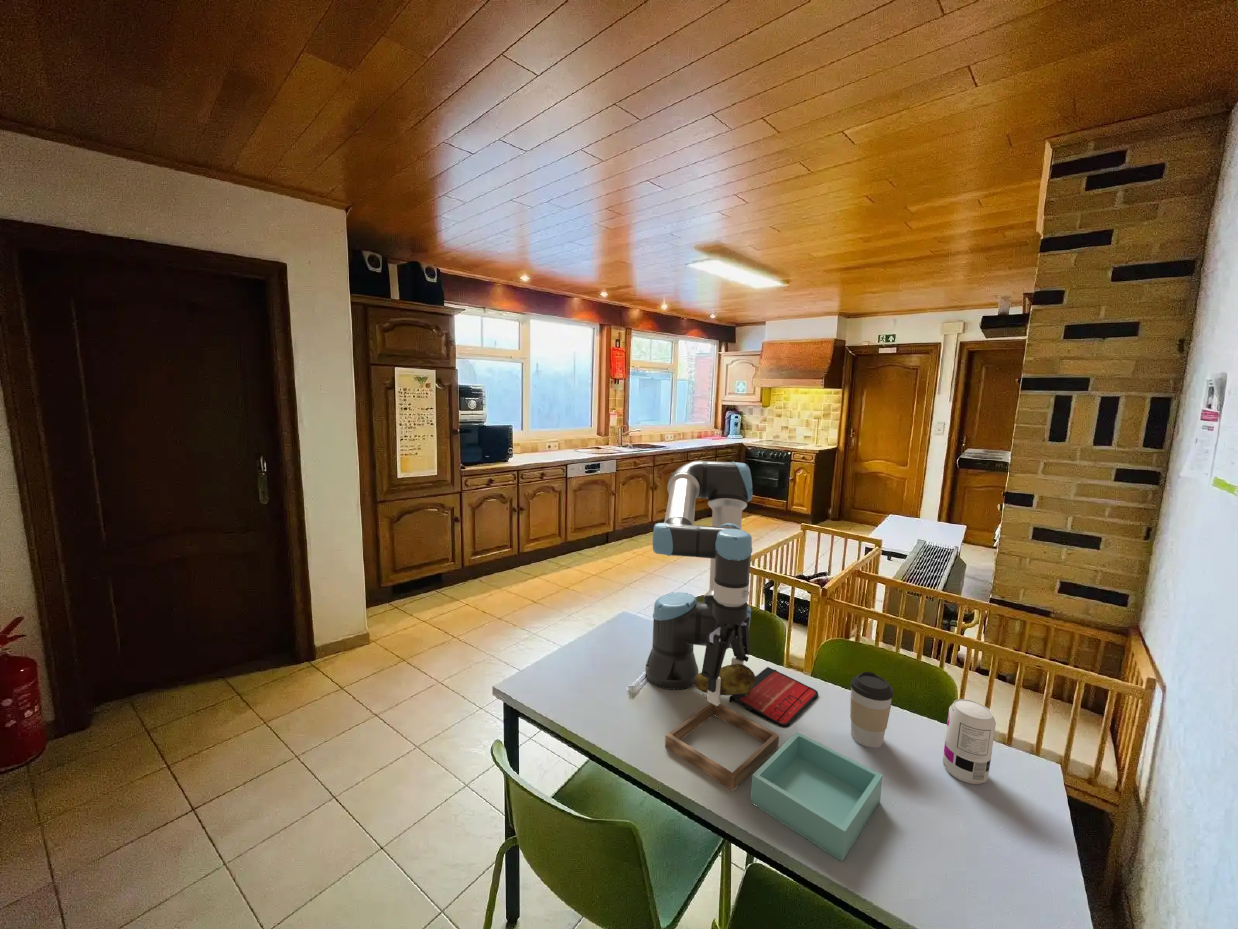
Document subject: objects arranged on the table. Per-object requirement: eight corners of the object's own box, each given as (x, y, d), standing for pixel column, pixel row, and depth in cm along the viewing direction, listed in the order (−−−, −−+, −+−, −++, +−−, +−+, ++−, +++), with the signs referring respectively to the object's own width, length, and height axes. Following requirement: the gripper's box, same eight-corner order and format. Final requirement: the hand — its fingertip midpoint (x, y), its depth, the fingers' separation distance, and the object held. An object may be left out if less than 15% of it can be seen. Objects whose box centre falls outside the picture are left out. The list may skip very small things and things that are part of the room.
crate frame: (665, 746, 117) (665, 734, 116) (713, 711, 130) (713, 700, 130) (733, 791, 104) (733, 777, 104) (778, 747, 118) (779, 735, 117)
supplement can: (933, 764, 113) (941, 702, 111) (958, 755, 117) (966, 694, 114) (971, 791, 106) (980, 724, 104) (996, 780, 109) (1005, 715, 107)
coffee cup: (893, 754, 116) (900, 693, 114) (850, 747, 118) (856, 687, 116) (881, 728, 125) (887, 671, 123) (842, 723, 127) (847, 666, 125)
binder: (729, 695, 134) (767, 665, 150) (728, 703, 135) (766, 672, 150) (787, 725, 124) (821, 690, 139) (785, 734, 124) (820, 698, 139)
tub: (750, 802, 102) (752, 775, 101) (794, 756, 115) (796, 731, 114) (842, 862, 89) (845, 831, 88) (879, 802, 102) (882, 775, 101)
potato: (707, 676, 123) (708, 646, 122) (758, 697, 116) (760, 665, 114) (690, 693, 117) (691, 660, 115) (743, 716, 109) (745, 682, 108)
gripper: (717, 621, 102) (711, 723, 106) (770, 591, 117) (763, 682, 121) (687, 609, 107) (682, 706, 111) (741, 582, 122) (736, 669, 126)
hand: (724, 694), depth 116 cm, fingers closed on potato, 8 cm apart
